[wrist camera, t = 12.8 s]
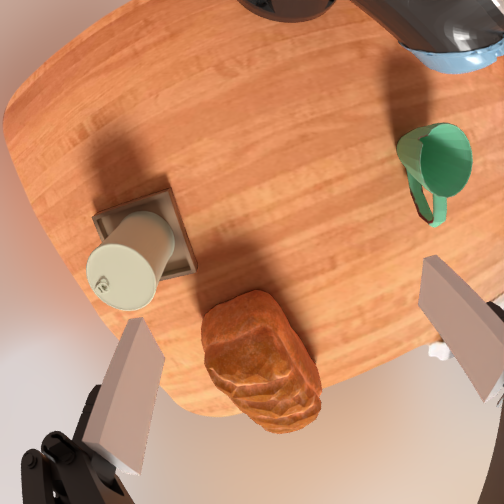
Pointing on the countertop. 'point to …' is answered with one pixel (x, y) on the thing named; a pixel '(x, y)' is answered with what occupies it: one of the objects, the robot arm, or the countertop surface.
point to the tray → (164, 207)
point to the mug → (435, 166)
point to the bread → (261, 362)
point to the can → (131, 261)
